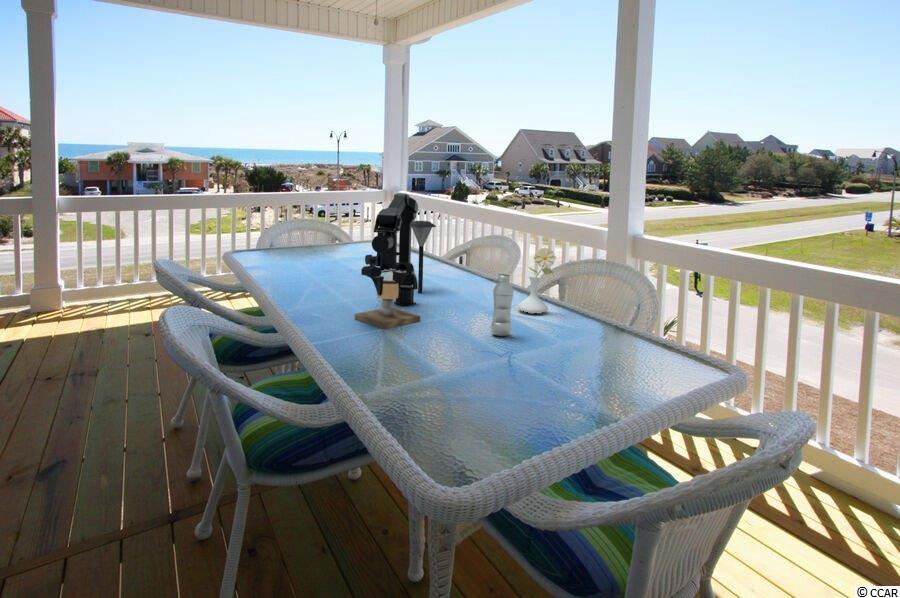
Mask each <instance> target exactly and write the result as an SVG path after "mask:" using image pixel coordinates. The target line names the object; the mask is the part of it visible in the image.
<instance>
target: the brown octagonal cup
mask: <svg viewBox="0 0 900 598" xmlns="http://www.w3.org/2000/svg"><path fill="white" fill-rule="evenodd" d="M376 293H377V292H376ZM398 295H399V282H397V281H393V280H389V279H387V280H383V287H382V293H381V295H378V293H377V298H378V299H381V300H382V299H393V300H396V298H398Z"/></svg>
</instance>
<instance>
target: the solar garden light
mask: <svg viewBox="0 0 900 598" xmlns="http://www.w3.org/2000/svg"><path fill="white" fill-rule="evenodd" d="M436 227H437V225H436V224H434V223H433V222H431V221H429V220H414V221H413V223H412V232H413V234H414V237H415V239H416V242H417V243H418V244H417V245H418V276H417V277H418V278H417V283H418V289H417V293H418V294H423V285H424V284H423V283H424V282H423V281H424V276H423V275H424V246H425V244H426V242H427V239H428V237H429V235H430V233H431V231H432V229H433V228H436Z"/></svg>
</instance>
